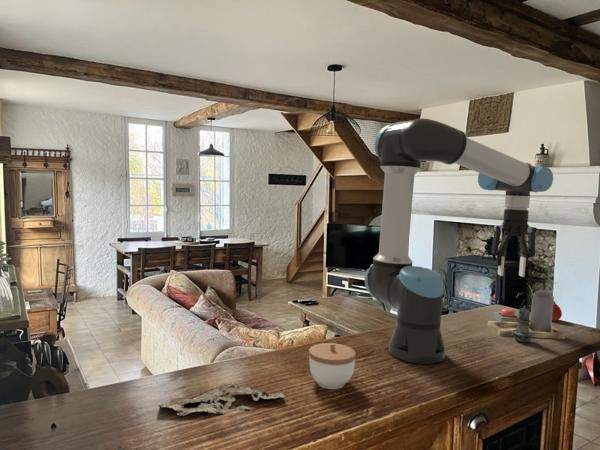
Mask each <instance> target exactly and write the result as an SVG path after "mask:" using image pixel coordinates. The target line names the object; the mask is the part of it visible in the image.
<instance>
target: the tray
mask: <svg viewBox="0 0 600 450" xmlns="http://www.w3.org/2000/svg"><path fill="white" fill-rule="evenodd" d="M487 326H488V327H489V328H490V329H491V330H492V331H494V333H496V334H497V335H499V336H502V337H503V336H505V337H507V336H508V337H513V333H512V330H516V329H517V326H518V322H501V321H497V320H496V321H495V320H488V321H487ZM529 331H530V332H531V333H533V336H532V338H541V339H542V338H544V339H545V338H546V339H560V340H562V339H563V340H565V339H566V333H564V332H563V331H561V330H560V329H559V328H556V327H555V326H553V325H552V324H551V332H537V331H532V330H531V329H530V322H529Z"/></svg>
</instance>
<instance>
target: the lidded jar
mask: <svg viewBox="0 0 600 450" xmlns="http://www.w3.org/2000/svg"><path fill="white" fill-rule="evenodd" d="M308 356H309V357H308V360H309V362H308V363H309V364H308V365H309V370H310V373H311V376H312V378H313V380H314V381H315V382H317V385H318V386H319V387H321V388H323V389H326V390H340V389H342V388H343V387H344V386H345V385H346V384H347V383H348V382H349V381H350V380H351V378H352V376H353V373H354V371H355V364H356V358H357V353H356V351H355V350H354V348H352V347H350V346H349V345H345V344H341V343H333V342H324V343H317V344H314V345H312V346H311V347H309V350H308Z"/></svg>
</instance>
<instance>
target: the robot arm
mask: <svg viewBox="0 0 600 450" xmlns="http://www.w3.org/2000/svg"><path fill="white" fill-rule="evenodd" d="M374 150H375V154H376V155H377V157H378V159H379V160H380V166H379V167H380V169H381V170H382V171H383V172H384V179H383V180H384V181H383V192H382V193H383V195H382V207H381V208H382V209H381V220H380V234H379V243H378V245H379V247H378V253H377V254H375V256H373V259H372V264H371V265H370V266H369V268H367V269H366V272H365V275H364V285H365V286H364V287H365V290H366V291H367V292H368V294H369V295H370V296H371V297H372V298H373V299H375V300H377V301H378V302H380V303H383V304H385V305H388V306H391V307H393V308H395V309H397V314H396V325H395V327H394V329H393V331H392V335H391V337H390V339H389V343H388V353H389V354H390V355H391V356H393V357H394V358H396V359H399V360H401V361H403V362H407V363H414V364H420V365H432V364H433V365H434V364H439V363H441V362H443V361H444V360H445V358H446V350H447V349H446V346H445V342H444V339H443V334H442V330H441V323H442V322H441V321H442V313H443V302H444V301H443V299H444V289H445V288H444V278H443V276H442V275H441V274H440V273H439V272H437V271H435V270H433V269H432V268H431V269H430V268H427V267H422V266H415V265H413V262H414V261H413V260H412V259H411V258H410V256H409V248H410V247H409V245H410V236H411V235H410V232H411V221H412V211H413V210H412V209H413V198H414V197H413V196H414V186H415V185H414V183H415V175H416V174H417V173H418V172H419V171H421V167H422V166H421V165H422V162H424V161H425V162H428V161H429V162H439V163H443V164H445V165H454V164H455V165H458V166H461V167H463V168H466V169H468V170H471V171H474V172H475V173H478V175H477V183H478V185H479V188H481V189H483V190H486V191H499V192H500V191H503V192H505V195H504V196H505V197H504V207H505V208H504V210H503V221H502V223H501V224H495V225H493V231H494V232H493V238H492V243H491V244H492V246H491V251H490V253H491V254H493V255H495V256H496V259H495V264H496V266H497V267H498V268H497V275H499V276H500V277H503V276H504V269H505V268H504V267H505V257H506V256H504V253H505V251H506V248H507V246H508V244H509V241H510V239H511V238H512V237H515V236H516V237H517V239H518V243H519V246H520V250H521V254H522V256H520V258H519V268H518V269H519V270H518V276H520V277H522V278H525V275H526V268H528V267H529V261H530V260H529V259H530V258H531V257H535V256H536V232H537V230H538V229H537V227H536V226H530V225H529V223H528V221H529V213H530V212H529V210H528V209H529V208H530V200H531V199H530V198H531V196H530V195H531V194H530V193H531V192H532V193H543V192H546V191H548V190H549V189H550V188H551V187H552V185H553V182H554V173H553V171H552V169H551V168H549V167H547V166H542V165H538V166H534V165H532V164H531V163H529V162H523V161H521V160H519V159H516V158H514V157H512V156H510V155H508V154H505V153H503V152H500V151H498V150H497V149H494V148H491V147H489V146H487V145H484V144H482V143H480V142H478V141H475V140H473V139H471V138H468V135H467V134H466V133H465V132H464V131H462V130H460V129H458V128H455V127H453V126H451V125H448V124H446V123H443V122H440V121H437V120H434V119H430V118H416V119H415V118H414V119H411V120H403V121H397V122H393V123H391V124H387V125H386V126H383V128H381V129H380V130H379V132H378V133H377V135H376V138H375V142H374ZM502 230H504V233H503V237H502V239H500V238H501V232H502ZM526 231H527V233H528V235H527V242H526V235H525V232H526ZM500 240H501V241H500Z"/></svg>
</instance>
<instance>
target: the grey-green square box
mask: <svg viewBox="0 0 600 450" xmlns="http://www.w3.org/2000/svg"><path fill="white" fill-rule="evenodd" d="M518 318H519V314H516V313H515V318H514V317H503V316H501V311H493V319H494V320H496V321H501V322H518V320H517V319H518Z"/></svg>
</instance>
